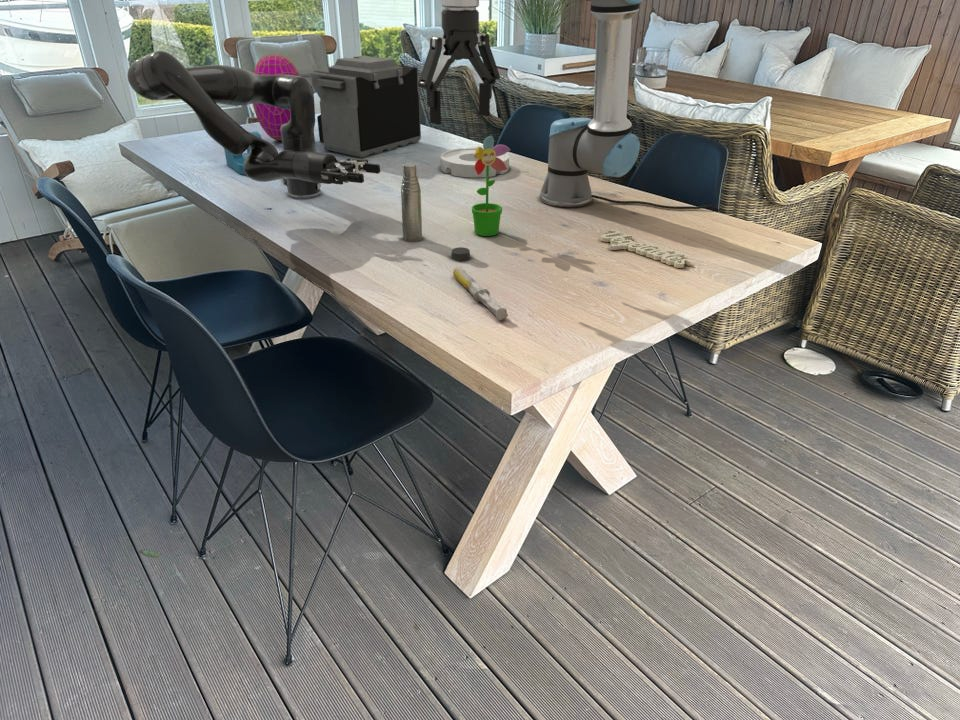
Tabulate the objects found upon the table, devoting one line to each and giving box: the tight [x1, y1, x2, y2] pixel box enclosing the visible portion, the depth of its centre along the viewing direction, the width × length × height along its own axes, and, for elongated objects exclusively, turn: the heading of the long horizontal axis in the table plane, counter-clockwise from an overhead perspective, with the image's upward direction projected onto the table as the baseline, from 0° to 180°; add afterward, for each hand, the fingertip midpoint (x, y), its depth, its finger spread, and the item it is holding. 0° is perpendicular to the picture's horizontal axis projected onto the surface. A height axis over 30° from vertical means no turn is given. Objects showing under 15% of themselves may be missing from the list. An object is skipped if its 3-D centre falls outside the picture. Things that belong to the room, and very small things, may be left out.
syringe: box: [452, 266, 509, 321], centre depth 145 cm, size 25×4×3 cm, turn 21°
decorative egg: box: [252, 54, 301, 142], centre depth 257 cm, size 19×19×30 cm
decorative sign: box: [600, 229, 691, 269], centre depth 168 cm, size 26×1×10 cm
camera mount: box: [223, 131, 263, 176], centre depth 226 cm, size 18×10×10 cm, turn 35°
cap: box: [451, 246, 471, 262], centre depth 163 cm, size 4×4×2 cm
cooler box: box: [310, 55, 422, 159], centre depth 250 cm, size 37×22×30 cm, turn 144°
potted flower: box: [471, 135, 511, 237], centre depth 172 cm, size 9×8×25 cm
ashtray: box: [439, 147, 510, 178], centre depth 231 cm, size 23×23×4 cm
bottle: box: [400, 162, 423, 242], centre depth 170 cm, size 5×5×19 cm
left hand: (371, 173), depth 170 cm, fingers open, 8 cm apart
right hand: (460, 119), depth 148 cm, fingers open, 13 cm apart
